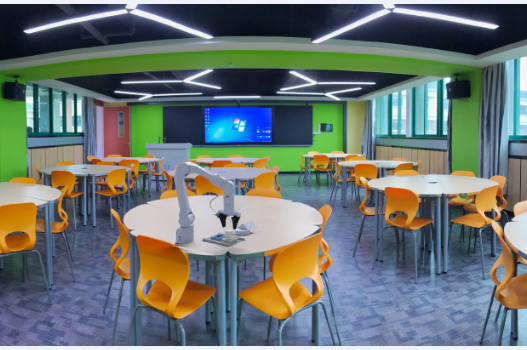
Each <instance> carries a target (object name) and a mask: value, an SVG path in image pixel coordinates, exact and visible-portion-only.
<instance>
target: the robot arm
mask: <svg viewBox="0 0 527 350" xmlns="http://www.w3.org/2000/svg"><path fill="white" fill-rule="evenodd" d="M190 174H197V175H199V176H200V177H201V176H202V177H203V178H205V179H207V180H209V183H210V184H212V185H214V186H216V187H217V188H219V189H221V190H222V192H223V196H222V197H223V209H218V210H217V218H218V219H219V221H220V224H221V228H226V226H227V217H228V216H231V217H230V220H231V222H232V230H233V231H235V229H236V228H238V224H239V221H240V219H241V217H242V216H241V214H242V213H241V212H239V211H236V210H235V188H236V187H235V185H236V184H235V183H234V181H232V180H228V178H225V177H223V176H222V175H221V174H220V173H214V174H213V173H211V172H209V170H207V169H204V167H201V166H200V165H199V164H196V163H193V162H192V161H189V160H188V161H185V162H181V163H180V164H179V165H177V167H176V170H175V173H174V177H173V180H174V185H175V186H174V187H175V191H176V197H177V202H178V206H179V213H178V224H179V227H178V228H176V230H175V240H176V241H175V243H176V244H186V243H190V242H192V241H195V230H194V229H195V225H194V222H195V221H196V220H195V219H196V215H195V214H194V213H193V210H192V208H191V207H190V203H189V198H188V192H187V187H186V182H185V179H186V178H187V177H188V175H190Z"/></svg>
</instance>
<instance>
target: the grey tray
mask: <svg viewBox="0 0 527 350" xmlns="http://www.w3.org/2000/svg"><path fill="white" fill-rule="evenodd" d="M202 241H204V242H207V243H213V244H216V245H219V246H220V245H221V246H225V247H228V248H229V247H232V246H235V245H237V244H239V243H243V242H245V241H246V238H245V237H242V236H238V235H234V239H232V240H226V239H225V233H223V232H217V234H214V235H211V236H209V237H207V238H206V237H203V238H202Z"/></svg>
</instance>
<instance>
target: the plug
mask: <svg viewBox="0 0 527 350" xmlns="http://www.w3.org/2000/svg"><path fill="white" fill-rule="evenodd" d="M224 234H225V239H226V240H232V239H234V236H235V235H234V234H235V232H234V230H233V229H226V230H224Z"/></svg>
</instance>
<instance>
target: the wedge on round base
mask: <svg viewBox="0 0 527 350" xmlns="http://www.w3.org/2000/svg"><path fill="white" fill-rule="evenodd" d="M257 228H258V226H257V225H256V223H255V222H254V221H253V220H249V221H247V222H243V223H241V224H240V225H239V226H237V228H236V229H235V230H234V234H235V235H236V236H238V235H239V236H246V235H250V234H251V230H253V229H254V230H255V229H257Z"/></svg>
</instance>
